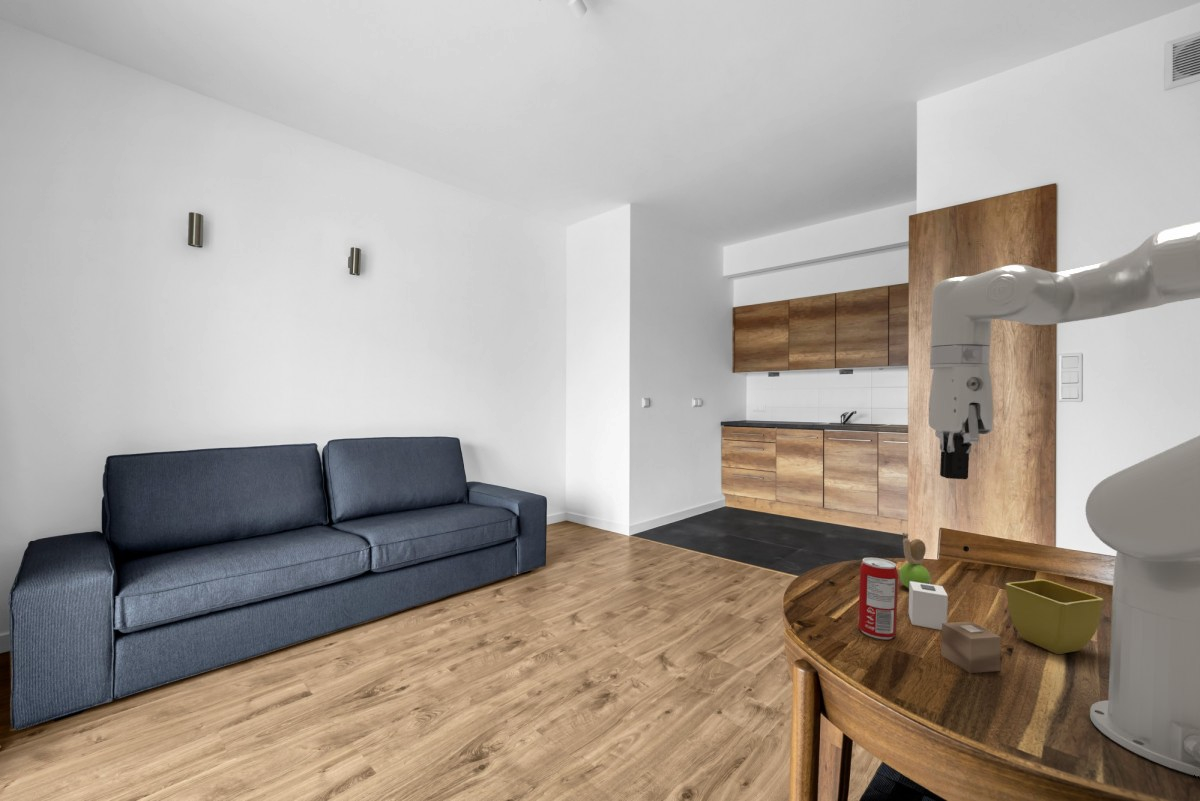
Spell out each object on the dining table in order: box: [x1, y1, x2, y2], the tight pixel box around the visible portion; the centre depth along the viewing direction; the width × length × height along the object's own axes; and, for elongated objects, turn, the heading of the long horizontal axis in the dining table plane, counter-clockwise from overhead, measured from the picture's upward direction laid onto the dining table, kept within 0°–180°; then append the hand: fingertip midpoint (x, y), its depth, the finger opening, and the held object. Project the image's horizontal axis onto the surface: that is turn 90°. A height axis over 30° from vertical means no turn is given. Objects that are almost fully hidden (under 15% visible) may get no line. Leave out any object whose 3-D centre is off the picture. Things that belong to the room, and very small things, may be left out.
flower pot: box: [1005, 578, 1104, 655], centre depth 81 cm, size 9×9×9 cm
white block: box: [908, 581, 949, 631], centre depth 89 cm, size 5×5×6 cm
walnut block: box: [940, 621, 1002, 674], centre depth 75 cm, size 5×5×5 cm
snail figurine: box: [898, 532, 932, 589], centre depth 104 cm, size 5×6×12 cm
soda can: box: [857, 557, 899, 640], centre depth 84 cm, size 6×6×12 cm
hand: (953, 477), depth 79 cm, fingers closed
